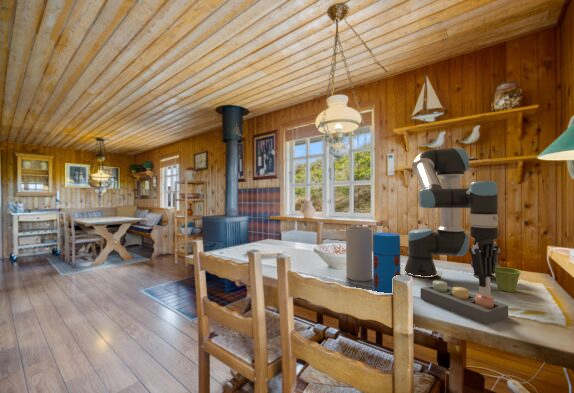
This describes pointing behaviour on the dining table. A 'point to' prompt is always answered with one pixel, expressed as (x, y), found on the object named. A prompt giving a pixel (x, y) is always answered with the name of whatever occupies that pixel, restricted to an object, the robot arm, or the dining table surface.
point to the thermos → (385, 260)
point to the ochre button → (460, 293)
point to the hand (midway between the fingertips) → (484, 295)
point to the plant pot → (507, 278)
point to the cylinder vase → (359, 253)
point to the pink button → (484, 301)
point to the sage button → (440, 286)
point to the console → (465, 305)
